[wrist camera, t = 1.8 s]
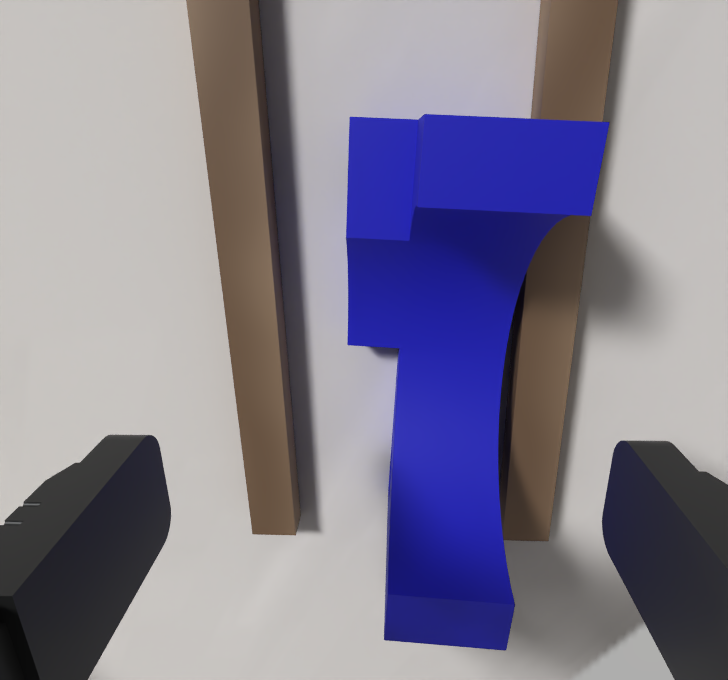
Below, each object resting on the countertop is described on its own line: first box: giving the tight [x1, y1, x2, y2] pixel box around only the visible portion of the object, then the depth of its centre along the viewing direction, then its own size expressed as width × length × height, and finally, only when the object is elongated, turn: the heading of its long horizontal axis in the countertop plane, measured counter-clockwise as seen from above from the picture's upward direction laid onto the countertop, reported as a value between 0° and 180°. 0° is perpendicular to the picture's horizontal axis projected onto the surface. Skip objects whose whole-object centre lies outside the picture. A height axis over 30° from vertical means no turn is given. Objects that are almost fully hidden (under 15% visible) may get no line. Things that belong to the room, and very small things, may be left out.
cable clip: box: [346, 114, 609, 650], centre depth 14 cm, size 12×4×6 cm, turn 178°
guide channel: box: [186, 0, 618, 541], centre depth 12 cm, size 11×26×5 cm, turn 1°
